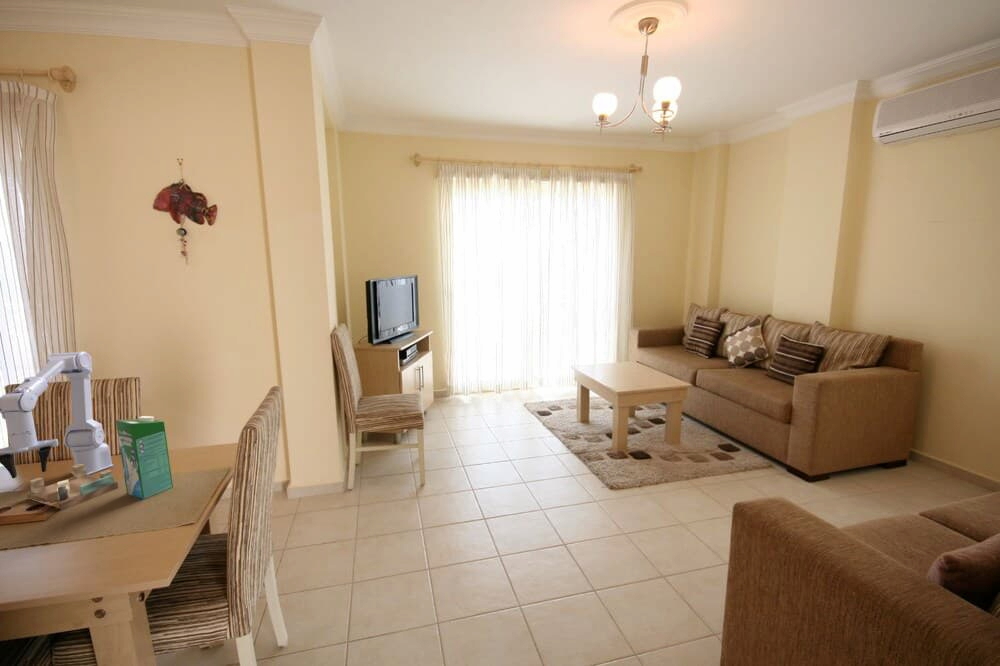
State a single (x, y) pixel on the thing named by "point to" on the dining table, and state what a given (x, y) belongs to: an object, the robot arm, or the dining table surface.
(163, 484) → the milk carton
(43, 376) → the robot arm
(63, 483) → the stool leg
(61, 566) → the dining table surface
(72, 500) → the stool seat
